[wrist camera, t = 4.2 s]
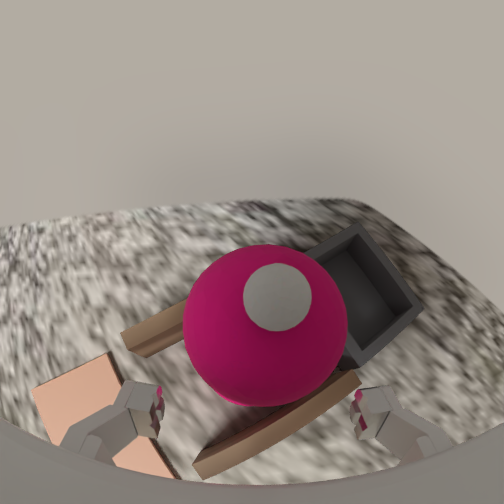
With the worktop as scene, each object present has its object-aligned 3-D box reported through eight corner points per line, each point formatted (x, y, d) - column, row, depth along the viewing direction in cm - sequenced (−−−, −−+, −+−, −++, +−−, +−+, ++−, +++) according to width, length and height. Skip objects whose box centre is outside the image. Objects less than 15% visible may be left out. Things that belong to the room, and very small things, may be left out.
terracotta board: (33, 390, 21) (31, 389, 20) (108, 354, 24) (106, 353, 23) (92, 507, 15) (90, 509, 15) (179, 482, 18) (178, 484, 18)
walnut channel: (139, 344, 24) (120, 332, 20) (266, 276, 28) (271, 253, 24) (209, 464, 20) (202, 480, 15) (340, 386, 24) (362, 383, 19)
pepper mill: (233, 417, 22) (224, 496, 4) (193, 349, 25) (96, 234, 7) (303, 377, 24) (455, 324, 6) (262, 313, 27) (311, 144, 9)
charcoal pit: (280, 280, 28) (286, 262, 25) (345, 241, 31) (358, 221, 27) (343, 371, 24) (359, 367, 21) (404, 320, 27) (424, 308, 23)
